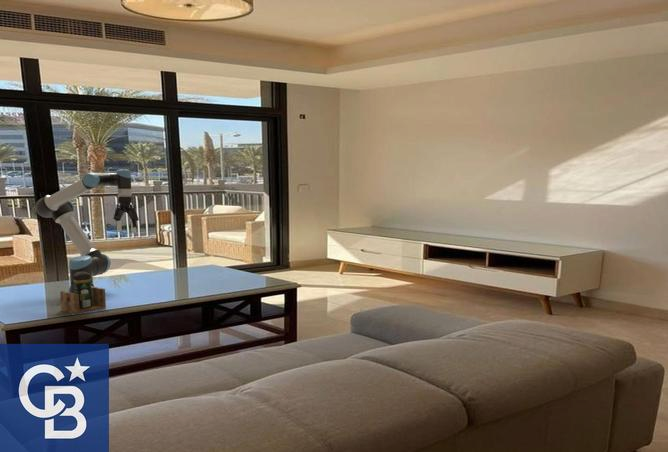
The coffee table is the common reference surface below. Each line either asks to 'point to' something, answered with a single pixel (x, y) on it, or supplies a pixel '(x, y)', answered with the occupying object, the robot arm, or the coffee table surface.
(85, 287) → the coffee jar
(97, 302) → the holder
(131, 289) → the coffee table surface
